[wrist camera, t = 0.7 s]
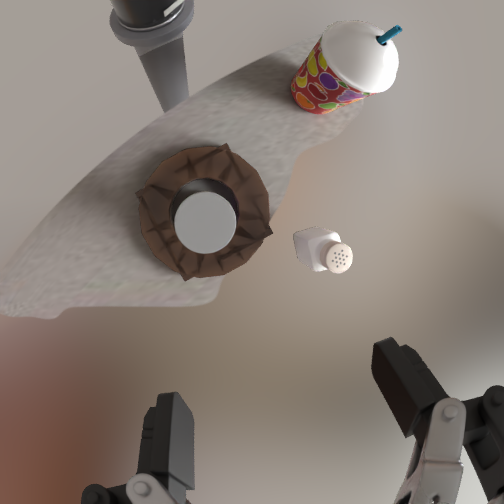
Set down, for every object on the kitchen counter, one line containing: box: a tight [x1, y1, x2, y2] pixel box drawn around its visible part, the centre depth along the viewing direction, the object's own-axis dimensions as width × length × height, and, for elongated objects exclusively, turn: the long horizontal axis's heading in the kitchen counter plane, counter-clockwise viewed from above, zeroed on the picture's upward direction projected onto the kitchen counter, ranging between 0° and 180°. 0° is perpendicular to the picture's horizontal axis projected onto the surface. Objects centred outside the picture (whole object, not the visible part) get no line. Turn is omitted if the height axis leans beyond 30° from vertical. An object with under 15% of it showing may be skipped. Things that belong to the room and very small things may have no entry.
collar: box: [135, 143, 273, 281], centre depth 33 cm, size 15×15×2 cm
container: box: [174, 191, 236, 254], centre depth 27 cm, size 5×5×15 cm
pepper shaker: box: [293, 227, 353, 273], centre depth 33 cm, size 4×4×10 cm
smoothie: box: [291, 21, 402, 114], centre depth 24 cm, size 8×8×20 cm
